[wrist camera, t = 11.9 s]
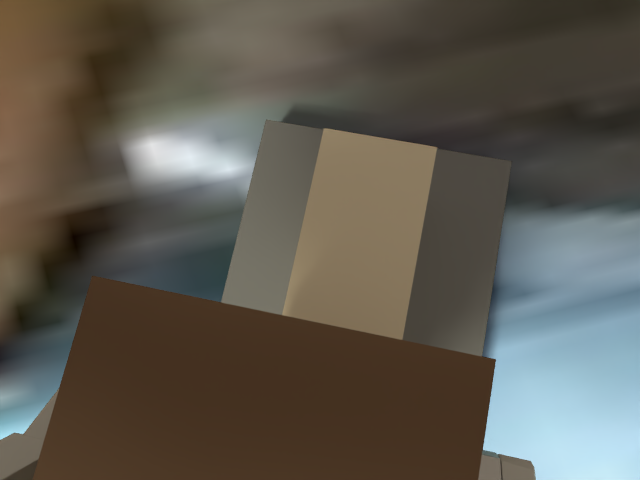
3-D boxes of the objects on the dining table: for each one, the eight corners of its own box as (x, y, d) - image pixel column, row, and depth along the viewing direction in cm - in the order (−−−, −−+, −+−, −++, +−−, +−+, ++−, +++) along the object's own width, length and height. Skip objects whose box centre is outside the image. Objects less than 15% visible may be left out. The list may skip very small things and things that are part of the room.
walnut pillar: (384, 545, 15) (421, 867, 5) (216, 503, 15) (-40, 723, 6) (415, 369, 16) (496, 360, 6) (255, 335, 16) (91, 275, 7)
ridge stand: (409, 774, 20) (430, 954, 14) (135, 694, 22) (40, 826, 15) (503, 173, 25) (550, 104, 18) (271, 133, 26) (241, 56, 20)
